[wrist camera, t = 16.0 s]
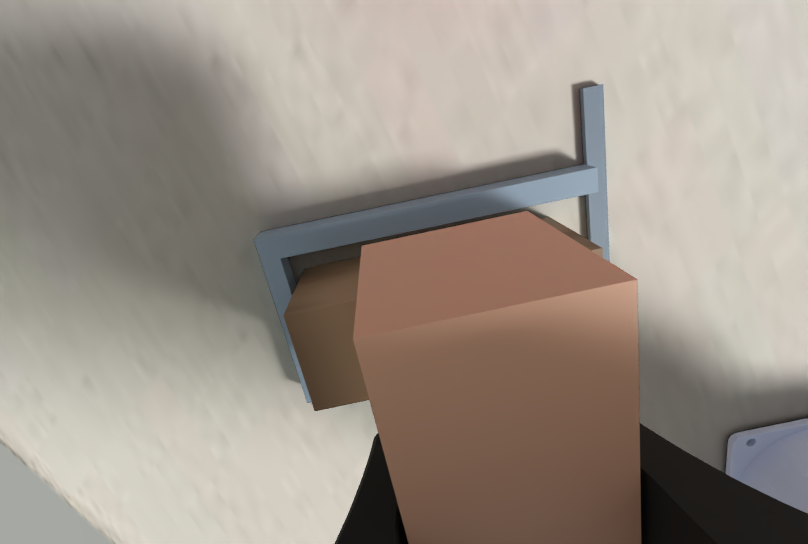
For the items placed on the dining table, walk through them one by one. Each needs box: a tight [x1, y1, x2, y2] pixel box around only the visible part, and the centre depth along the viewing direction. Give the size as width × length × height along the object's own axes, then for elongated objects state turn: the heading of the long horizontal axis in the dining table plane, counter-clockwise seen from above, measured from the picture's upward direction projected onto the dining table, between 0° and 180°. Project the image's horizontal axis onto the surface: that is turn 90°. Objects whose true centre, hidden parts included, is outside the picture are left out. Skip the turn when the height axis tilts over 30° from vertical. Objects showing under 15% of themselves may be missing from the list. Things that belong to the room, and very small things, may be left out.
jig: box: [253, 84, 610, 403], centre depth 19 cm, size 15×14×1 cm
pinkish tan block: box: [353, 211, 641, 544], centre depth 10 cm, size 4×10×5 cm, turn 11°
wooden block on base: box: [283, 217, 603, 411], centre depth 18 cm, size 11×4×5 cm, turn 101°
